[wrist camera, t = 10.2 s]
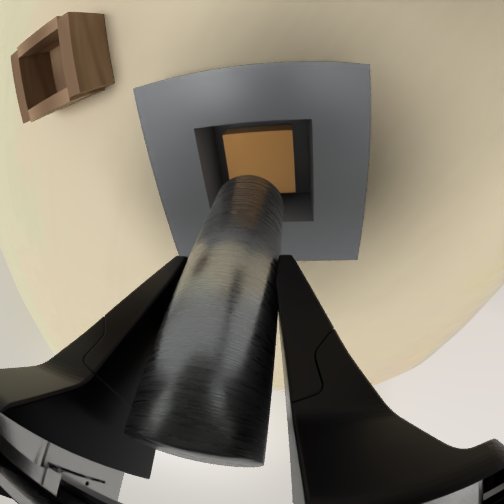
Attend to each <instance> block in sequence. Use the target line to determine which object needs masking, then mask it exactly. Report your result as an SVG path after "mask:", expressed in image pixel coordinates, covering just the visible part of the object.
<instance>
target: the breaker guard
mask: <svg viewBox="0 0 504 504" xmlns="http://www.w3.org/2000/svg"><path fill="white" fill-rule="evenodd" d="M133 91H134V95H135V100H136V105H137V109H138V114H139V118H140V122H141V127H142V131H143V135H144V139H145V143H146V147H147V151H148V155H149V158H150V162H151V166H152V169H153V173H154V177H155V180H156V184H157V187H158V191H159V194H160V197H161V201H162V204H163V207H164V211H165V214H166V217H167V220H168V223H169V227H170V230H171V233H172V236H173V239H174V242H175V245H176V248H177V251H178V254H179V256H187V257H189V255H190V253H191V251H192V248H193V246H194V244H195V242H196V239H197V237H198V235H199V233H200V231H201V228H202V226H203V224H204V222H205V220H206V217H207V215H208V213H209V211H210V209H211V207H212V205H213V203H214V200H215V198H216V196H217V194H218V192H219V190H220V188H221V187H222V186H223V185H224V184H225V183H226V182H227V181H228V180H230V179H229V173H228V166H227V160H226V154H225V148H224V142H223V134H224V133H225V132H226V130H227V129H234V128H245V127H257V126H273V125H292V134H293V150H294V168H295V191H296V192H291V193H280V194H281V196H282V199H283V230H282V251H281V255H292V256H293V257H294V259H295V261H318V260H357V259H358V252H359V246H360V240H361V233H362V225H363V218H364V209H365V200H366V191H367V180H368V167H369V151H370V126H371V83H370V64H361V63H347V62H325V61H297V62H274V63H261V64H250V65H241V66H233V67H226V68H219V69H213V70H207V71H202V72H197V73H192V74H187V75H182V76H178V77H174V78H170V79H166V80H162V81H158V82H154V83H151V84H147V85H144V86H140V87H137V88H134V89H133Z"/></svg>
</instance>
